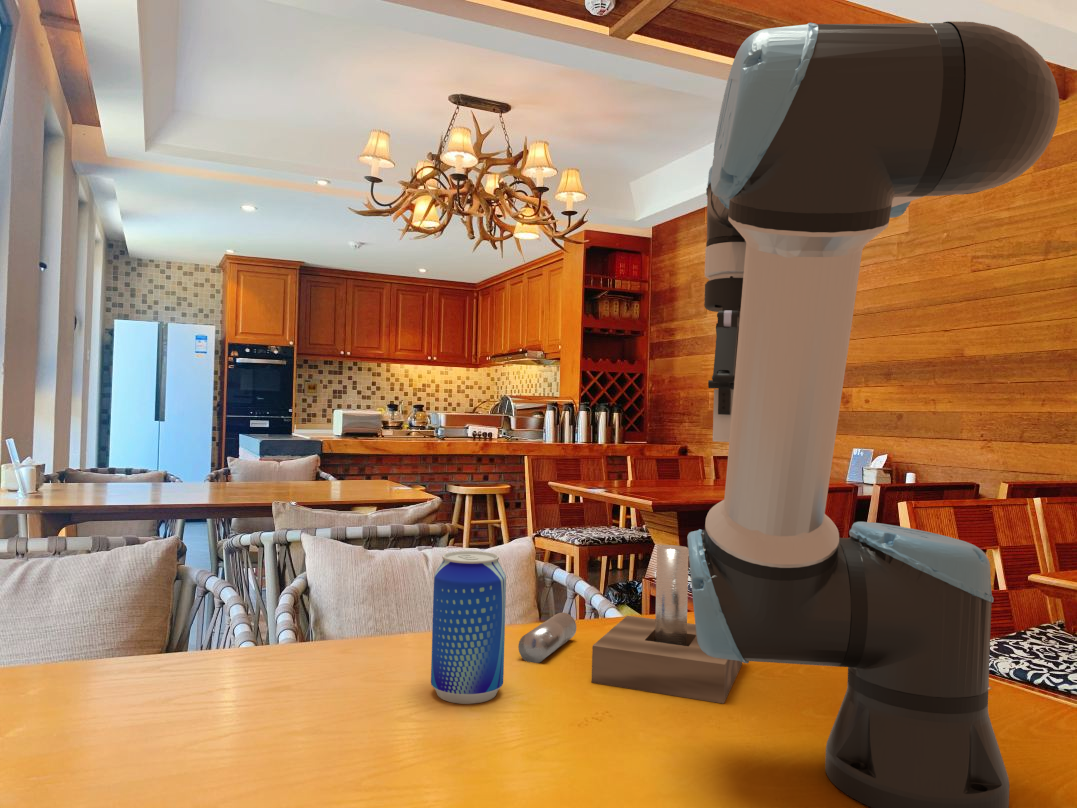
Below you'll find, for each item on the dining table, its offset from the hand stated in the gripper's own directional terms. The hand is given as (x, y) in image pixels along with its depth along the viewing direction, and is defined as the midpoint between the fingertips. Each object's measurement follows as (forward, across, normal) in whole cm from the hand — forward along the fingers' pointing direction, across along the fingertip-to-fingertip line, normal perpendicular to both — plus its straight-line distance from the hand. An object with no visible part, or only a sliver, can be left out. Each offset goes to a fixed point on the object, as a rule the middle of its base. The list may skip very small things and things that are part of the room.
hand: (729, 440), depth 106 cm
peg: (+30, -5, +6) cm, 31 cm away
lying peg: (+27, -3, +22) cm, 35 cm away
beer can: (+30, -22, +27) cm, 46 cm away
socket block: (+30, -5, +6) cm, 31 cm away
